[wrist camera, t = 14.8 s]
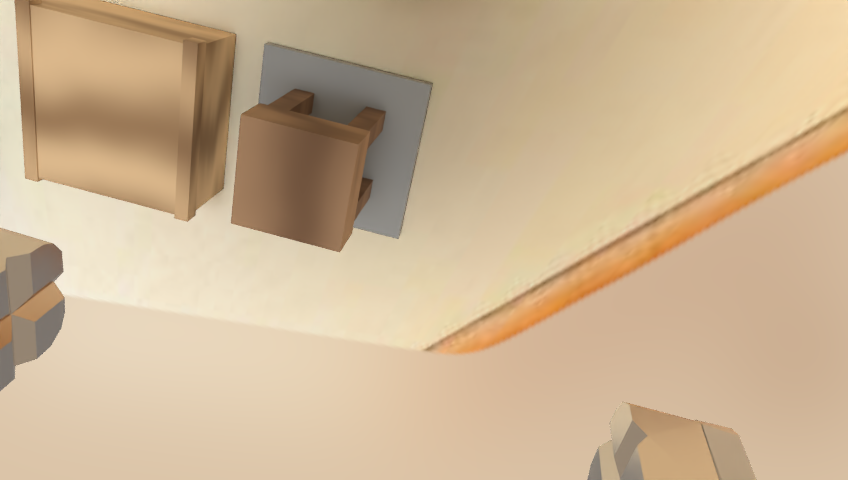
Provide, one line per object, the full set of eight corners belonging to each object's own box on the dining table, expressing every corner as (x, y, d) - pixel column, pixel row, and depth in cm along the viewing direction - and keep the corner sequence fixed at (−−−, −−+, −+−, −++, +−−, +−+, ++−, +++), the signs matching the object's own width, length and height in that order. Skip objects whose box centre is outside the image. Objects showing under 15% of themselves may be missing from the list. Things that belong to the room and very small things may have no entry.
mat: (268, 42, 39) (264, 43, 39) (432, 83, 39) (431, 85, 38) (252, 196, 43) (248, 199, 43) (399, 235, 43) (398, 238, 42)
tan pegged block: (280, 177, 42) (231, 223, 35) (292, 84, 39) (240, 114, 33) (372, 201, 42) (339, 252, 35) (390, 108, 39) (358, 144, 32)
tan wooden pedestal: (75, -10, 40) (14, -3, 35) (238, 31, 39) (197, 43, 35) (78, 153, 44) (25, 178, 40) (224, 191, 44) (187, 221, 39)
